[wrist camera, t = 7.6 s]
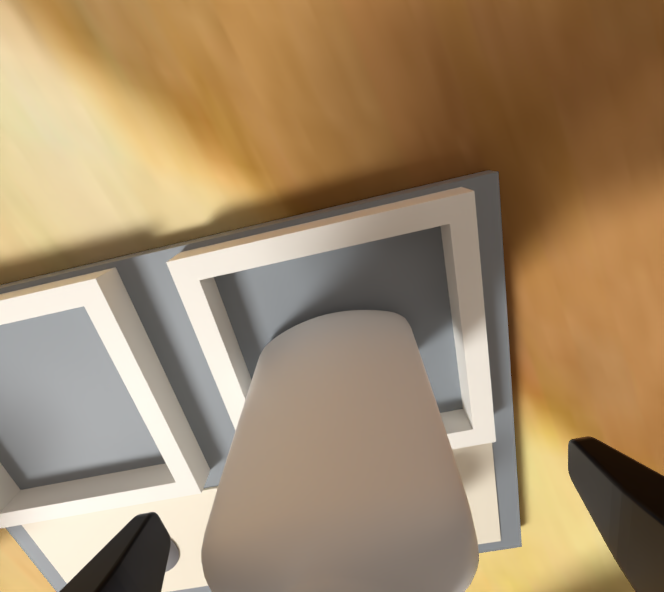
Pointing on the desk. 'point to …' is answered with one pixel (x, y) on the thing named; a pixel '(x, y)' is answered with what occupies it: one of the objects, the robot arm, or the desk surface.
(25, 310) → the board
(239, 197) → the desk surface
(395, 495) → the white bottle
